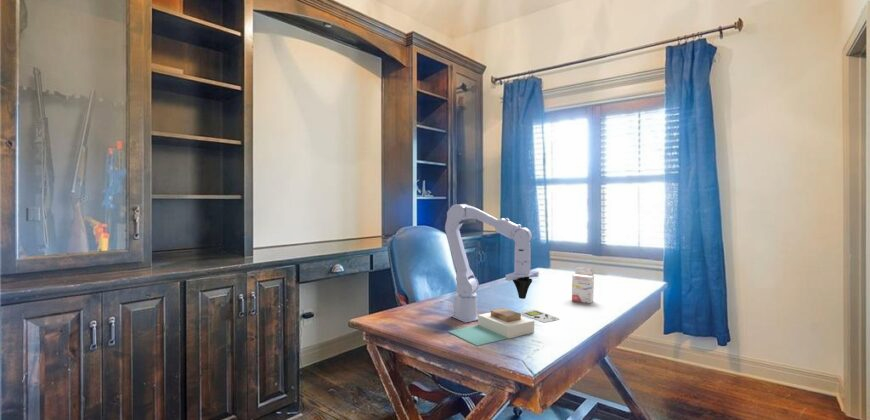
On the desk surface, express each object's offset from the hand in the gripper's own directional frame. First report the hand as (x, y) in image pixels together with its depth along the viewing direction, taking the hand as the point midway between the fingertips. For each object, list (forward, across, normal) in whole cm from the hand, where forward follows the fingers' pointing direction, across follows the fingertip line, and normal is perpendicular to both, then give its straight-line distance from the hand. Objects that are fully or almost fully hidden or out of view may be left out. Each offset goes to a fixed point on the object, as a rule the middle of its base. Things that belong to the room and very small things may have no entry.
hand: (522, 298), depth 150 cm
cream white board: (+10, -8, 0) cm, 13 cm away
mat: (+10, -20, 0) cm, 23 cm away
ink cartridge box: (+10, +48, +11) cm, 50 cm away
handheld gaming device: (+10, +14, +5) cm, 18 cm away
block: (+6, -8, 0) cm, 10 cm away
